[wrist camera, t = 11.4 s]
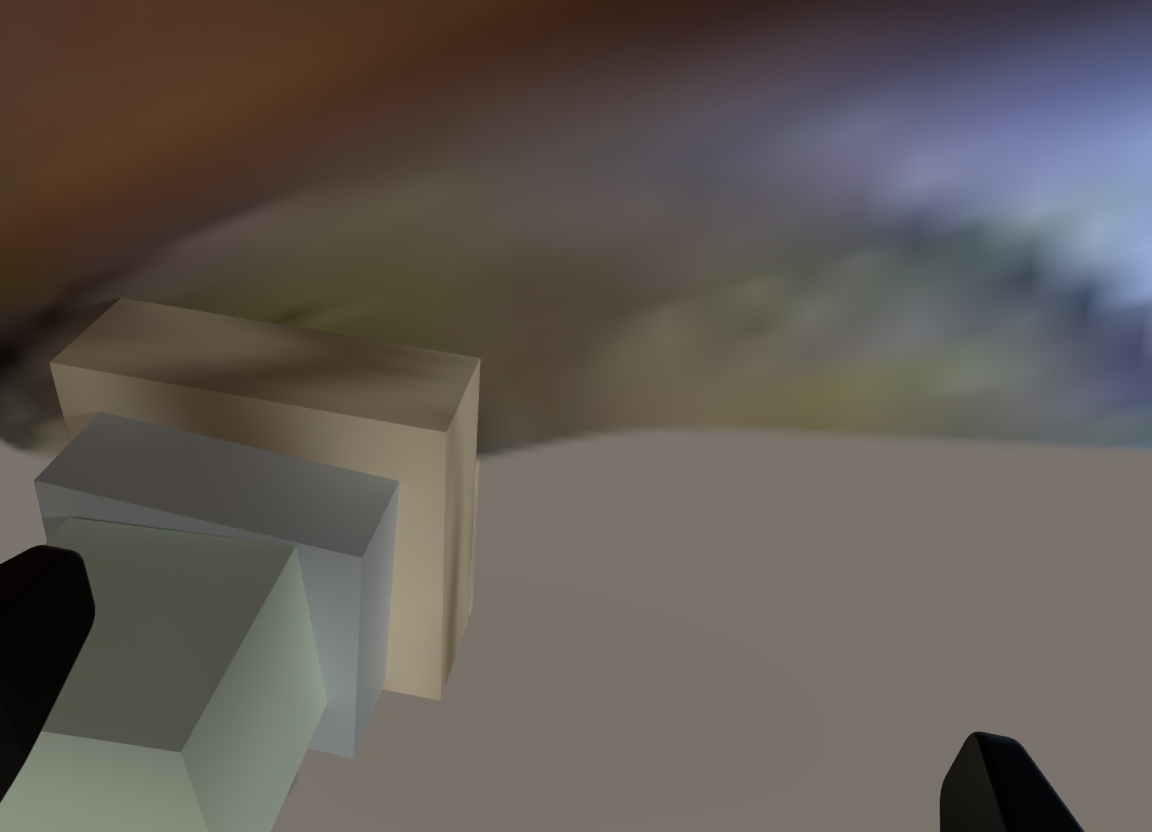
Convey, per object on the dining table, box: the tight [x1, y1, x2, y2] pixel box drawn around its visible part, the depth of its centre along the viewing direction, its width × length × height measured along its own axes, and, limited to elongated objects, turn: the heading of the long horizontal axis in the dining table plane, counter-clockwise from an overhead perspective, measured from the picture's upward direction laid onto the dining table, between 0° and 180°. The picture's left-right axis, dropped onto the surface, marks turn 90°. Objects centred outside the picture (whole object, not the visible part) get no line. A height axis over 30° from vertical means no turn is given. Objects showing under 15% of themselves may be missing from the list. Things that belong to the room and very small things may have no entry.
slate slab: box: [34, 412, 399, 759], centre depth 24 cm, size 7×7×2 cm
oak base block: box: [49, 298, 480, 701], centre depth 26 cm, size 9×9×4 cm
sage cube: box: [0, 517, 327, 832], centre depth 20 cm, size 5×5×5 cm
